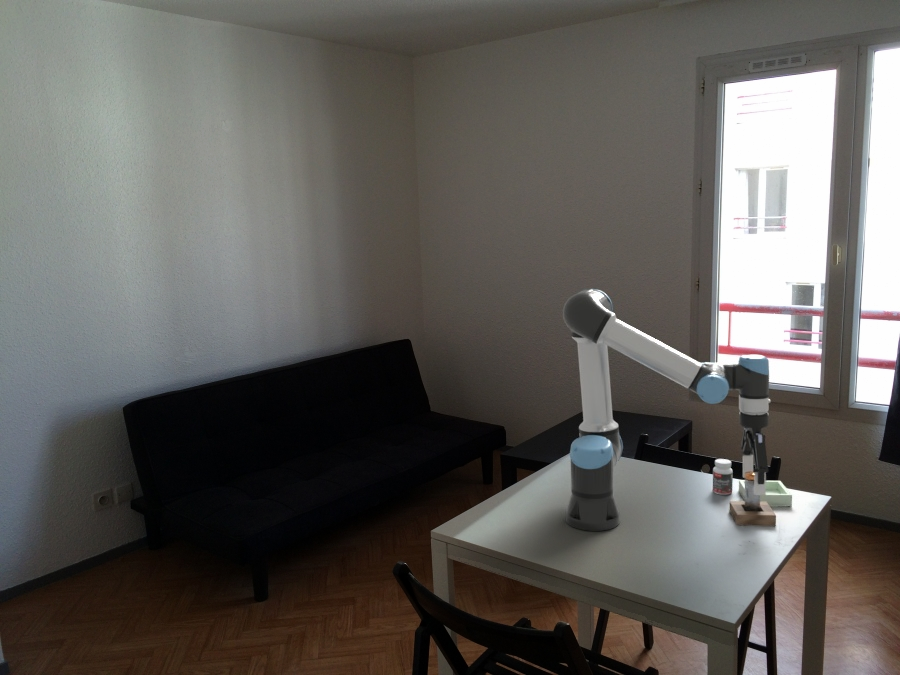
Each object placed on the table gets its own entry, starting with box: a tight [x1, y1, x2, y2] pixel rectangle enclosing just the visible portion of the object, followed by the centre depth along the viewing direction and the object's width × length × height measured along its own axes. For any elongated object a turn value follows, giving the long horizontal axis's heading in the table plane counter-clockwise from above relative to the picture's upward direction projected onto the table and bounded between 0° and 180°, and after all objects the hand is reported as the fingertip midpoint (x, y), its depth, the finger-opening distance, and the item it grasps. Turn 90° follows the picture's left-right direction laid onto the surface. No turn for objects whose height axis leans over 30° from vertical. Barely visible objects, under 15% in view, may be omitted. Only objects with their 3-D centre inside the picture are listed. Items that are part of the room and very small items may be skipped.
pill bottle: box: [712, 458, 734, 496], centre depth 224 cm, size 6×6×10 cm
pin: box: [744, 471, 760, 512], centre depth 203 cm, size 4×4×13 cm
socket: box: [728, 500, 777, 527], centre depth 204 cm, size 10×10×3 cm
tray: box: [738, 479, 793, 508], centre depth 217 cm, size 12×12×4 cm
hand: (753, 485), depth 203 cm, fingers open, 13 cm apart
